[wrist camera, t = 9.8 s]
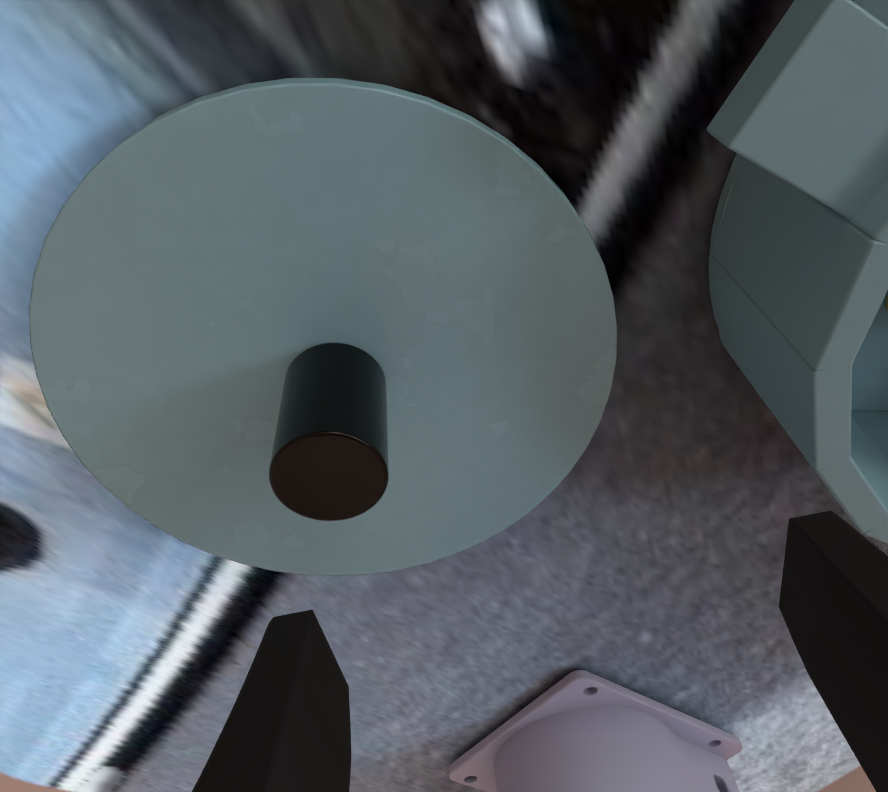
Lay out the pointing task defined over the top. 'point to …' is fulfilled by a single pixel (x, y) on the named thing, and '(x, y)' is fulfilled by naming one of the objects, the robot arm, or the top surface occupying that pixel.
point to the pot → (813, 242)
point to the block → (887, 303)
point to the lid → (323, 327)
